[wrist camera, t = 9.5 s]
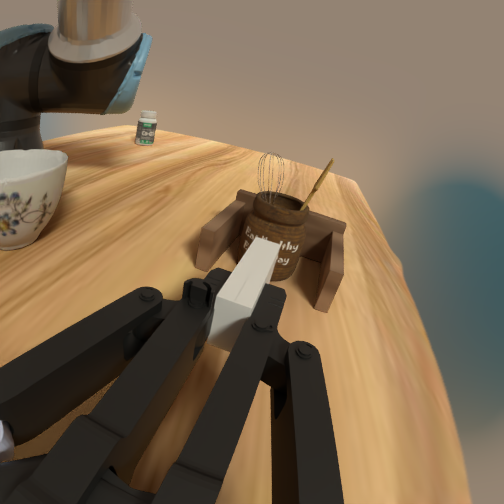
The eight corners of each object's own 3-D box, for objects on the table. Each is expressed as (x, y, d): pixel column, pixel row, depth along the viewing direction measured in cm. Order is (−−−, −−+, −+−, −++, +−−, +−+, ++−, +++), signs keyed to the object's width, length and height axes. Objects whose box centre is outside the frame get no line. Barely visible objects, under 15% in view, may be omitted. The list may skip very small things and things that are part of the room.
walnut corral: (326, 312, 26) (348, 264, 24) (195, 267, 28) (203, 216, 26) (331, 261, 36) (345, 222, 34) (231, 228, 37) (240, 189, 35)
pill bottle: (138, 146, 68) (143, 111, 64) (132, 142, 71) (137, 109, 67) (156, 146, 71) (161, 113, 67) (149, 142, 74) (154, 110, 70)
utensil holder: (242, 245, 34) (269, 137, 29) (298, 262, 34) (332, 155, 28) (228, 271, 29) (258, 142, 23) (293, 291, 28) (336, 164, 23)
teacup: (28, 203, 31) (28, 141, 27) (92, 234, 29) (94, 157, 25) (-68, 249, 18) (-80, 174, 14) (-28, 304, 16) (-51, 204, 12)
